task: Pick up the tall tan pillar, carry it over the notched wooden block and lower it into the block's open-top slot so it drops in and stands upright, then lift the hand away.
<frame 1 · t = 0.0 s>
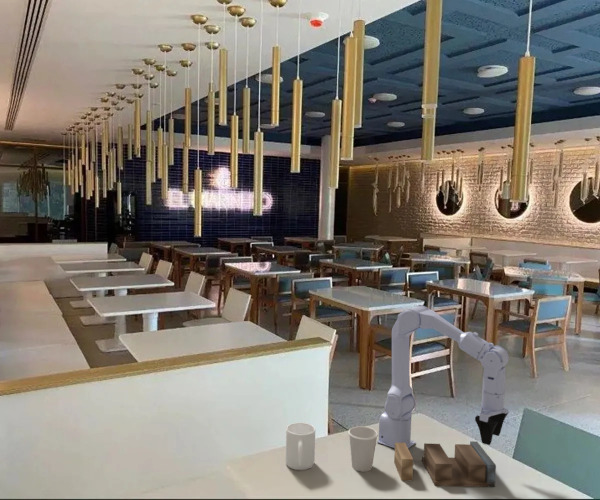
hand: (490, 439, 139), 10 cm above the table, tool pointing down, fingers open, 7 cm apart
mug: (299, 467, 141), on the table
tall tan pillar: (402, 471, 140), on the table
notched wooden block: (452, 472, 140), on the table
dixie cup: (361, 467, 142), on the table
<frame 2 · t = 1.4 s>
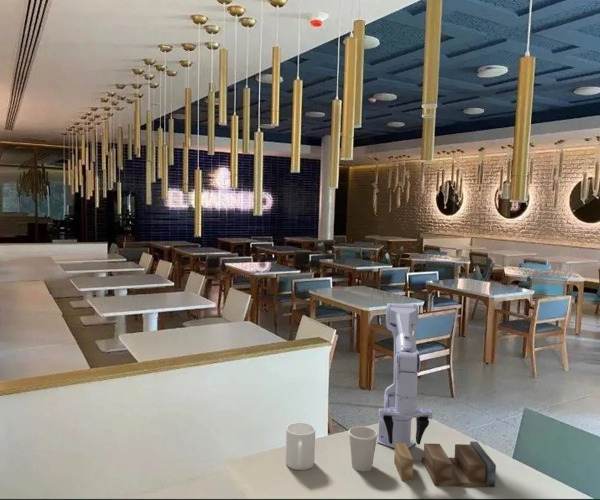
hand: (404, 442, 140), 8 cm above the table, tool pointing down, fingers open, 7 cm apart
nothing on the table moved.
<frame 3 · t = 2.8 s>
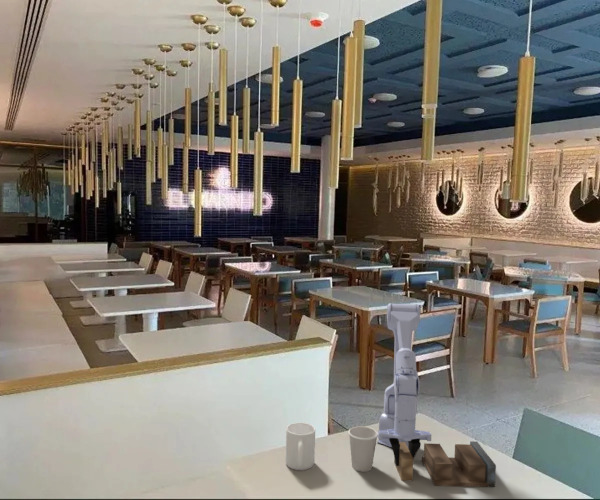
hand: (403, 464, 140), 2 cm above the table, tool pointing down, fingers closed on tall tan pillar, 3 cm apart
tall tan pillar: (403, 471, 140), on the table, touching gripper
everything else where it was.
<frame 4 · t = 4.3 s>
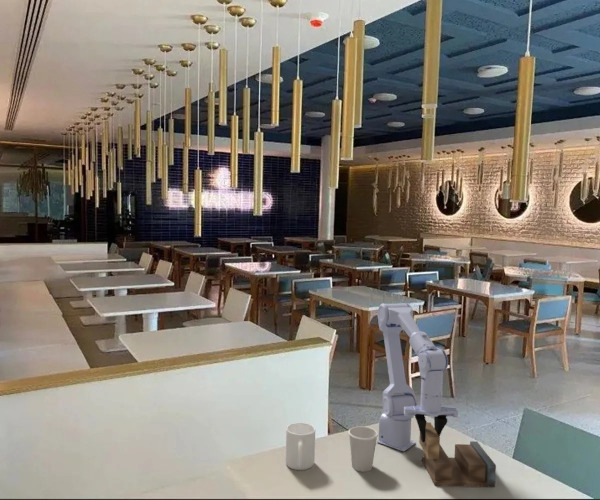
hand: (429, 440, 139), 9 cm above the table, tool pointing down, fingers closed on tall tan pillar, 3 cm apart
tall tan pillar: (428, 450, 140), point 6 cm above the table, touching gripper
everything else where it was.
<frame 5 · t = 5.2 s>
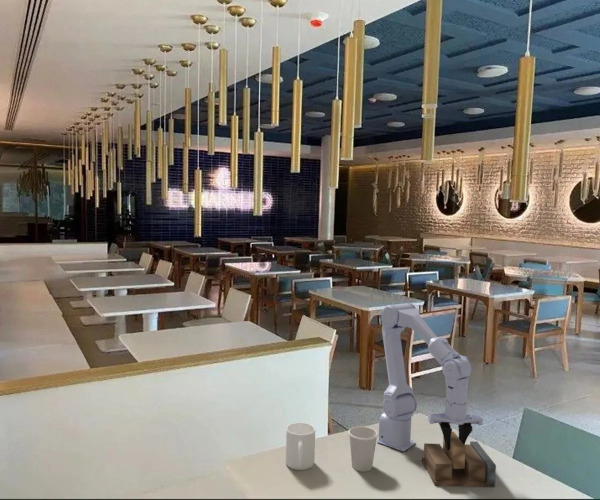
hand: (454, 448, 140), 7 cm above the table, tool pointing down, fingers closed on tall tan pillar, 3 cm apart
tall tan pillar: (453, 459, 140), point 4 cm above the table, touching gripper
everything else where it was.
when the fingers open (6 cm above the table, at t = 6.1 s): tall tan pillar drops 2 cm, resting on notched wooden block.
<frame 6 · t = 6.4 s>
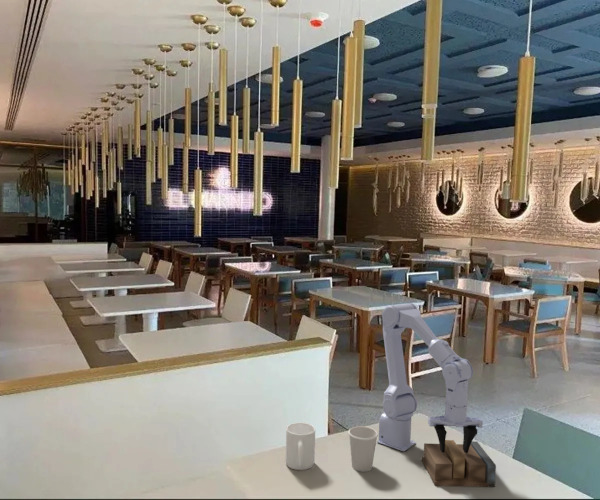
hand: (453, 451, 140), 6 cm above the table, tool pointing down, fingers open, 6 cm apart
tall tan pillar: (452, 468, 140), point 1 cm above the table, touching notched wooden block
everything else where it was.
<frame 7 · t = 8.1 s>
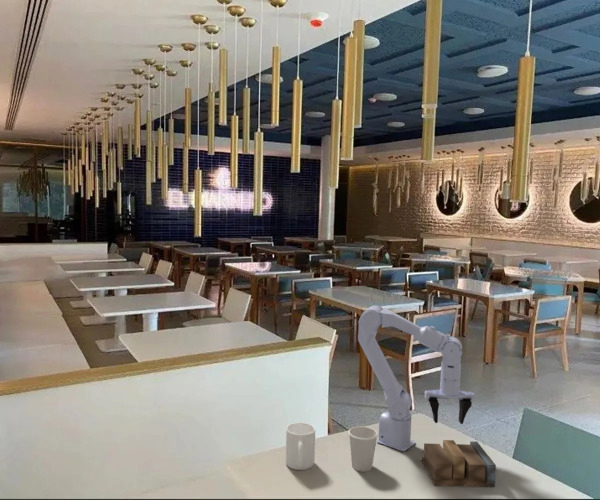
hand: (448, 422, 152), 9 cm above the table, tool pointing down, fingers open, 7 cm apart
nothing on the table moved.
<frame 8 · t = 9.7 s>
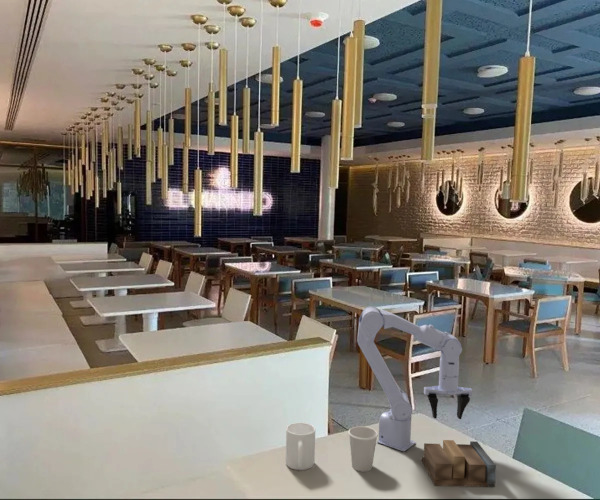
hand: (446, 417, 155), 9 cm above the table, tool pointing down, fingers open, 7 cm apart
nothing on the table moved.
at the end: tall tan pillar 0.2 cm off-centre on the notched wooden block, point 1.0 cm above the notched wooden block's base; tall tan pillar tilted 0°; the gripper is holding nothing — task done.
